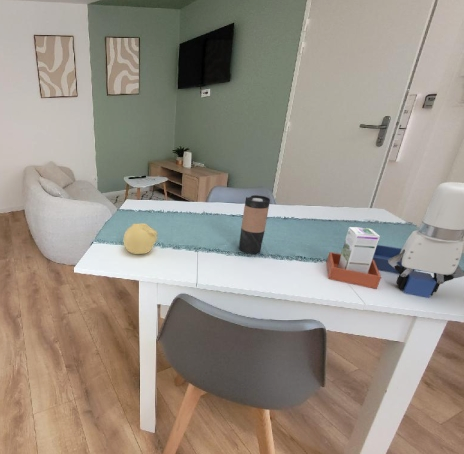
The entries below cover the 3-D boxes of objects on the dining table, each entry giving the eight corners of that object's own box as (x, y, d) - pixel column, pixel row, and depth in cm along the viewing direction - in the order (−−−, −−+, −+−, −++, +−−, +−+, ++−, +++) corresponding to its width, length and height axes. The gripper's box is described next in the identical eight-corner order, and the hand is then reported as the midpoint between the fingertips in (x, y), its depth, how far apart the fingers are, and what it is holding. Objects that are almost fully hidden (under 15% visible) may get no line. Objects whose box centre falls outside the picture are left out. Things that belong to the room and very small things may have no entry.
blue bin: (402, 259, 97) (406, 249, 95) (412, 276, 88) (416, 264, 86) (359, 252, 102) (362, 242, 101) (364, 267, 94) (368, 256, 92)
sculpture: (161, 251, 110) (162, 224, 106) (137, 261, 104) (137, 233, 100) (141, 241, 119) (141, 216, 115) (118, 249, 113) (117, 224, 109)
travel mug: (262, 255, 103) (272, 202, 96) (238, 253, 106) (246, 201, 98) (259, 246, 110) (268, 195, 102) (237, 244, 113) (244, 194, 105)
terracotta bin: (370, 270, 92) (374, 259, 90) (376, 289, 83) (381, 277, 82) (326, 262, 97) (329, 251, 96) (328, 278, 89) (332, 267, 87)
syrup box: (366, 279, 87) (382, 235, 81) (342, 276, 88) (356, 233, 83) (358, 269, 92) (372, 227, 86) (335, 267, 93) (348, 226, 88)
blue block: (423, 288, 82) (430, 273, 80) (429, 298, 78) (436, 282, 76) (399, 283, 85) (405, 269, 83) (403, 292, 81) (410, 277, 79)
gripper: (483, 231, 73) (452, 291, 80) (392, 220, 82) (371, 275, 89) (498, 243, 67) (464, 307, 74) (398, 230, 76) (376, 288, 83)
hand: (414, 289), depth 81 cm, fingers closed on blue block, 5 cm apart
